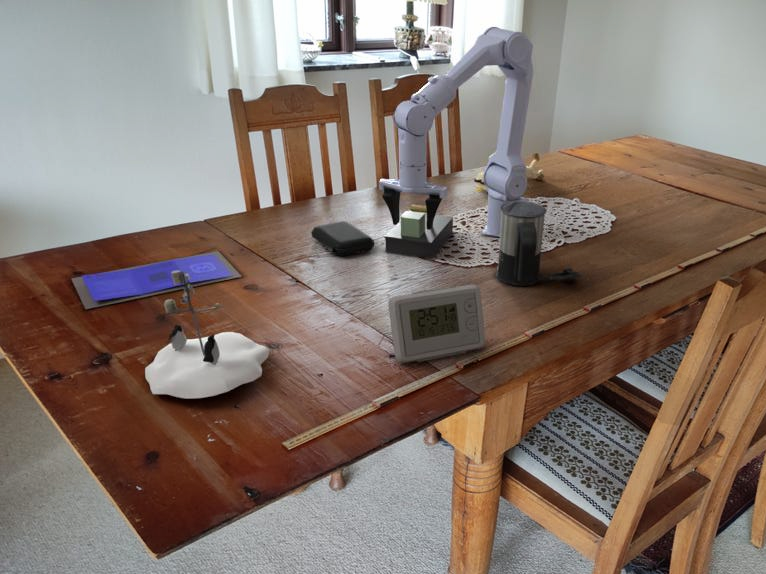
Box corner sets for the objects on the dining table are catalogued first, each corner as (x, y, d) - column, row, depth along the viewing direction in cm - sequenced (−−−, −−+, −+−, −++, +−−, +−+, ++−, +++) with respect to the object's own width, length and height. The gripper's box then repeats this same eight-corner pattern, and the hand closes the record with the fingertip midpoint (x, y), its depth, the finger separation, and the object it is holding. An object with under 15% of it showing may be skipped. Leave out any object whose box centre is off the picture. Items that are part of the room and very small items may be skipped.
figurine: (289, 377, 105) (272, 276, 97) (164, 416, 95) (134, 308, 88) (246, 333, 119) (228, 243, 112) (134, 364, 110) (106, 267, 103)
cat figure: (523, 177, 206) (463, 186, 190) (527, 148, 202) (466, 154, 186) (548, 186, 201) (489, 195, 184) (552, 155, 196) (492, 162, 180)
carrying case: (304, 238, 155) (334, 261, 145) (302, 225, 153) (333, 247, 143) (346, 230, 160) (378, 251, 151) (345, 217, 159) (378, 238, 149)
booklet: (233, 275, 136) (232, 272, 136) (94, 304, 124) (93, 301, 123) (213, 254, 145) (213, 251, 144) (82, 278, 132) (81, 275, 132)
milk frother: (488, 270, 144) (492, 202, 137) (554, 261, 150) (561, 195, 142) (518, 300, 134) (524, 227, 126) (587, 289, 139) (597, 219, 131)
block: (425, 231, 151) (425, 213, 149) (419, 238, 148) (419, 219, 146) (407, 228, 152) (407, 210, 150) (400, 235, 149) (400, 216, 146)
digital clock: (392, 367, 110) (391, 309, 105) (386, 340, 118) (384, 284, 112) (490, 359, 114) (493, 302, 108) (478, 333, 121) (481, 278, 116)
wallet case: (431, 258, 148) (431, 244, 147) (385, 252, 150) (385, 237, 149) (452, 233, 162) (452, 219, 160) (410, 227, 164) (409, 213, 162)
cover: (431, 245, 146) (431, 223, 144) (384, 238, 148) (383, 217, 146) (453, 219, 160) (453, 199, 158) (409, 213, 162) (409, 193, 160)
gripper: (372, 164, 140) (374, 227, 147) (440, 172, 137) (439, 236, 144) (385, 155, 146) (386, 216, 153) (450, 163, 143) (448, 225, 150)
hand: (412, 225), depth 149 cm, fingers open, 7 cm apart
